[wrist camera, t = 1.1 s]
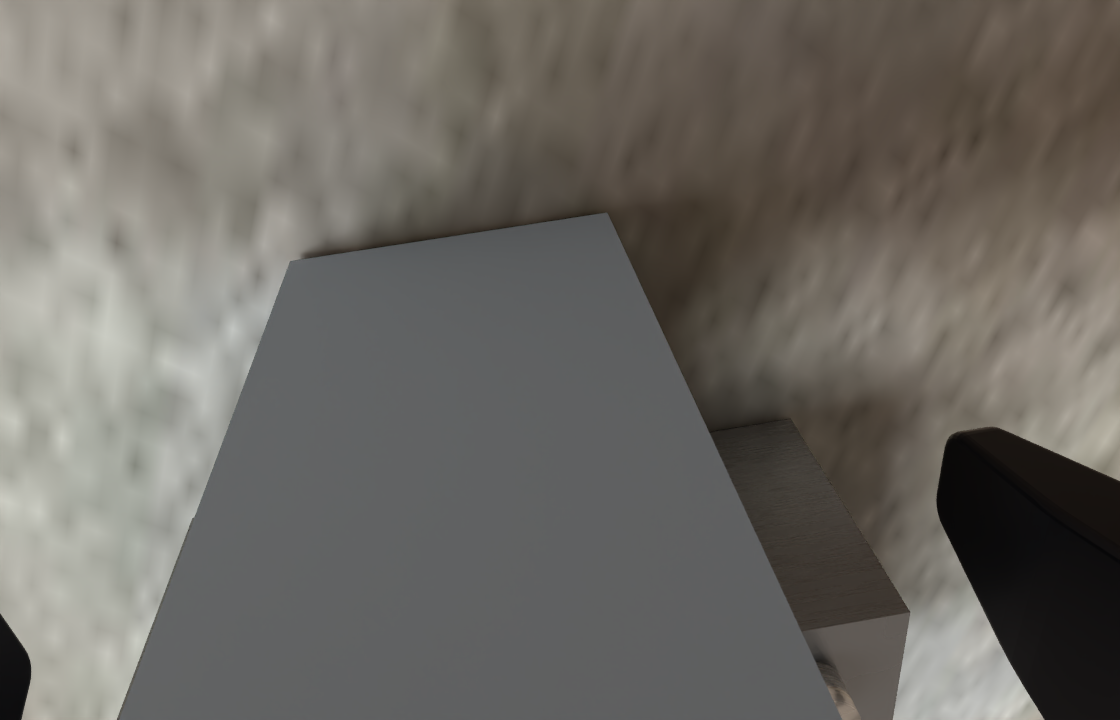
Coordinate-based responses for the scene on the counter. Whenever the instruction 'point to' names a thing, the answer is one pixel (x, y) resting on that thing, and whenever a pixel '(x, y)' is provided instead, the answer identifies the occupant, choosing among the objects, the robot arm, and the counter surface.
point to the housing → (811, 567)
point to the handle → (472, 509)
